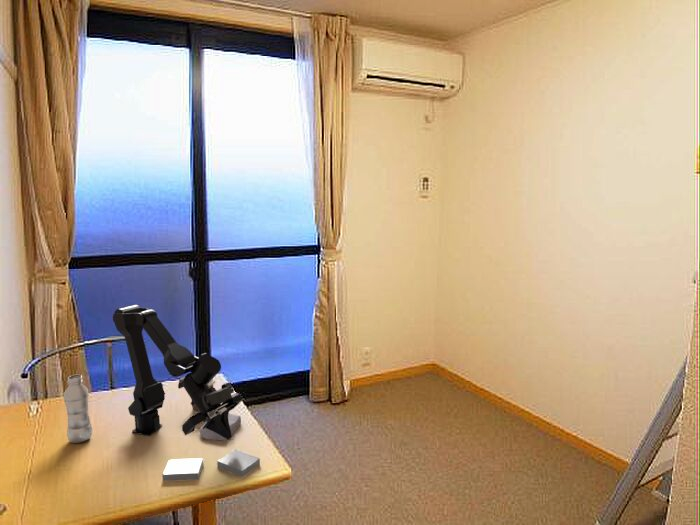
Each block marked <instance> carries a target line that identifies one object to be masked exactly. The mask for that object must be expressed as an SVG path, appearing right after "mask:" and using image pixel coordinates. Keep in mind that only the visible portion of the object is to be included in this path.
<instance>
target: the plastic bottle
mask: <svg viewBox="0 0 700 525" xmlns="http://www.w3.org/2000/svg"><path fill="white" fill-rule="evenodd" d="M83 382H84V381H83V375H82V374H72V375H70V376H68V377H67V385H68V387H67V388H65V391H64V392H63V395H62V398H63V402H64V405H65V407H66V413H67V414H66V415H67V430H66V436H67V440H68V441H70V442H71V443H74V444H78V443H79V444H80V443H83V442H86V441H88V440H89V439H90V438H91V436H92V435H93V427H92V423H91V421H90V416H89V389H88V388H87V386H85V385H84V384H83Z"/></svg>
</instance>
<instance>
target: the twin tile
mask: <svg viewBox="0 0 700 525" xmlns="http://www.w3.org/2000/svg"><path fill="white" fill-rule="evenodd" d="M203 466H204V458H203V457H198V458H197V457H196V458H194V457H193V458H173V459H169V460H168V462H167V464H166V466H165V468H164V470H163V472H162V476H161V477H162V482H177V481H179V482H180V481H182V482H183V481H199V479H200V475H201V473H202V469H203Z"/></svg>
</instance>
